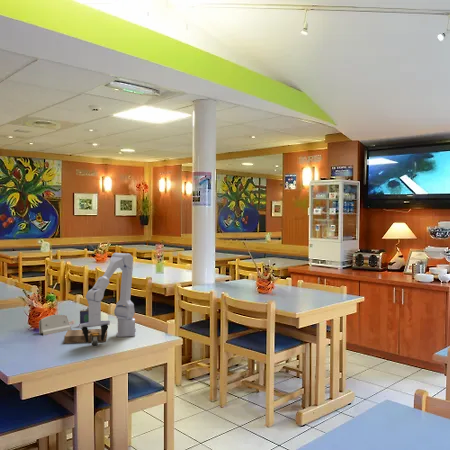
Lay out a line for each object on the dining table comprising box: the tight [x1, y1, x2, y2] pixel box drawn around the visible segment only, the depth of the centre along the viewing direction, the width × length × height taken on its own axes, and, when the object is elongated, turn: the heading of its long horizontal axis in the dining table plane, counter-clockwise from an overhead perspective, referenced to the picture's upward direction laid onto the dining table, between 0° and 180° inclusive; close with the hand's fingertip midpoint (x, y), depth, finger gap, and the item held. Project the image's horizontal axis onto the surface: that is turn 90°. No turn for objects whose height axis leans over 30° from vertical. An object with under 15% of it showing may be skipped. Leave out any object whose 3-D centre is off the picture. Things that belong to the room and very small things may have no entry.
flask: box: [79, 306, 89, 324], centre depth 262 cm, size 9×3×11 cm, turn 112°
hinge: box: [38, 314, 73, 336], centre depth 250 cm, size 17×5×10 cm, turn 138°
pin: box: [90, 332, 99, 347], centre depth 225 cm, size 4×4×6 cm
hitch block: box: [63, 328, 108, 344], centre depth 235 cm, size 20×12×4 cm, turn 101°
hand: (94, 341), depth 225 cm, fingers open, 7 cm apart
